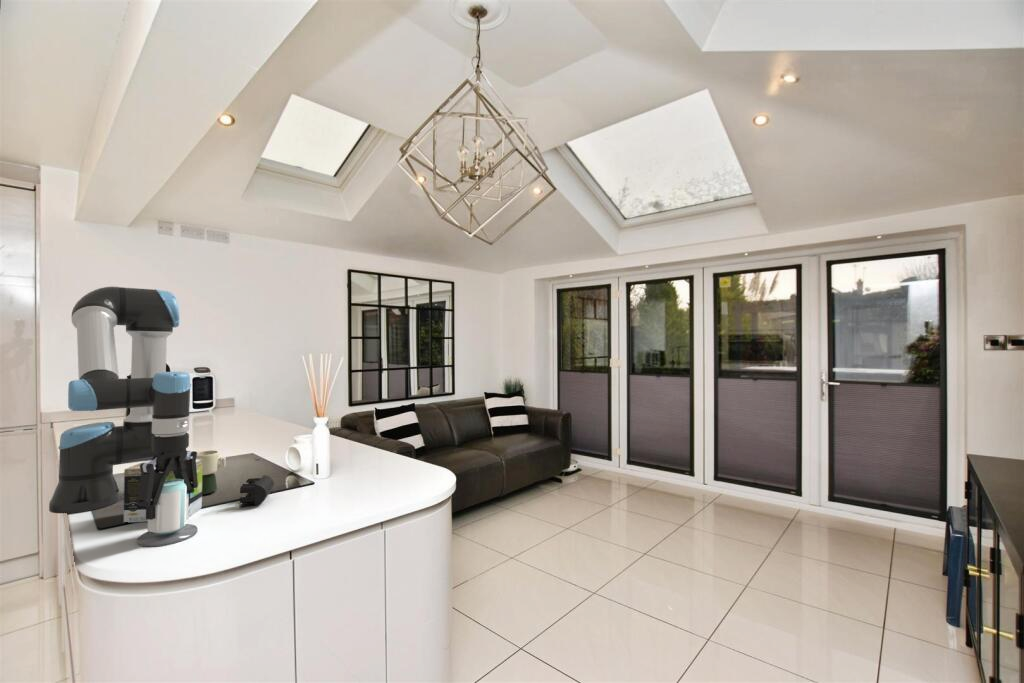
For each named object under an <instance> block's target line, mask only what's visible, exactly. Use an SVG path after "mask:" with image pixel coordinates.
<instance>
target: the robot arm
mask: <svg viewBox="0 0 1024 683" xmlns="http://www.w3.org/2000/svg"><path fill="white" fill-rule="evenodd" d="M71 323H72V326H73V327H74V328H75V329H76V338H77V340H76V341H77V343H76V344H77V367H78V369H77V370H78V379H74V380H70V381H69V383H68V387H67V388H68V389H67V390H68V391H67V392H68V393H67V395H68V396H67V397H68V398H67V405H68V409H69V410H70V411H71V412H72V411H73V412H88V411H89V412H94V411H104V410H105V411H106V410H115V409H116V410H117V409H130V411H129V414H128V415H126V417H125V418H123V422H122V423H123V424H122V425H118V426H116V425H115V423H114V421H113V422H112V421H102V422H101V421H100V422H94V423H87V424H83V425H78V426H74V427H71V428H68V429H65V430H64V431H63V432H62V433H61V434H60V437H59V438H60V439H59V446H58V450H59V460H58V462H59V464H58V482H57V485H56V487H55V489H54V492H53V494H52V497H51V499H50V501H49V503H48V506H49V507H48V510H49V512H50V513H53V514H75V513H82V512H88V511H94V510H97V509H102V508H104V507H108V506H111V505H114V504H115V503H117V502H119V501H120V500H121V498H120V497H121V491H120V489H119V487H118V486H119V485H118V484H117V481H116V479H115V477H114V476H115V475H114V466H117V465H118V466H119V465H125V464H133V463H142V462H144V461H147V460H152V461H150V462H148V463H142V464H141V465H140V470H141V479H140V486H139V493H138V500H137V505H141V506H146V519H148V522H147V532H148V531H149V532H159V531H160V511H161V504H157V503H158V500H159V497H160V494H161V491H162V488H163V485H164V482H165V479H166V477H167V476H168V475H169V473H170V472H171V471H173V473H174V475H175V478H176V479H183V480H184V483H185V484H186V486H187V497H186V520H188V519H189V517H188V505H189V504H190V493H193V492H194V490H195V489H194V488H197V487H198V480H197V469H196V457H197V452H198V451H193V450H187V449H188V447H189V444H190V434H189V433H188V432H189V430H190V407H191V406H190V405H191V404H190V399H191V398H190V397H191V388H192V384H191V375H190V373H189V372H186V371H167V346H168V345H167V343H168V342H167V341H168V340H167V339H168V338H169V336H171V335H172V334H173V333H174V331H173V330H174V329H173V328H178V327H179V326H180V310H179V304H178V300H177V298H176V296H175V294H174V293H173V292H171V291H168V290H167V291H166V290H160V289H156V288H155V289H150V288H149V289H148V288H134V287H120V286H103V287H101V288H100V287H99V288H97V289H94V290H92V291H90V292H88V293H86V294H85V295H83V296H82V297H81V298H80V299H79V300H78V301H77V302H76V303H75V305H74V306H73V307H72V311H71ZM116 326H123V327H124V326H125V333H127V334H128V335H129V336H130V337H131V359H130V360H131V368H130V378H120V376H119V369H118V358H117V350H116V349H117V347H116V339H115V330H114V329H115V327H116ZM160 472H163V473H160ZM191 482H192V483H191Z"/></svg>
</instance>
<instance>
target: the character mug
mask: <svg viewBox="0 0 1024 683" xmlns="http://www.w3.org/2000/svg"><path fill="white" fill-rule="evenodd" d="M196 452H197V457H196V459H202V495H206V494H207V495H208V494H211V493H213V492H215V491H217V489H218V488H217V486H218V485H217V477H216V474H215V473H217V472H218V471H219V469H221V468H222V469H223V468H225V467H226V464H227V463H226V460H227V459H226V457H225V456H223V457H222V456H221V457H220V451H219V450H215V449H214V450H212V449H208V450H201V451H196ZM220 461H222V463H221V464H220Z"/></svg>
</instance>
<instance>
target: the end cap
mask: <svg viewBox="0 0 1024 683" xmlns="http://www.w3.org/2000/svg"><path fill="white" fill-rule="evenodd" d="M274 487H275V483H274V480H273V478H272V477H271V476H269V475H262V476H261V477H255V478H248V479H247V480H246V481H245V483H242V485H240V488H239V494H246V495H245V496H242V497H241V496H240V497H239V504H240V505H239V507H240V508H241V509H244V508H256V507H258V506H260V505H261V504H262V503H263V502H264V501H265V500H266V499H267V498H268V496H269V494H271V491H272V490H273V489H274Z"/></svg>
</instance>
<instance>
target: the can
mask: <svg viewBox="0 0 1024 683" xmlns="http://www.w3.org/2000/svg"><path fill="white" fill-rule="evenodd" d="M186 497H187V486H186V484H185V483H184V480H183V479H167V480H165V482H164V485H163V488H162V491H161V494H160V497H159V500H158V503H157V504H161V511H160V531H159V532H154V533H156V534H168V533H172V532H175V531H178V530H180V529H181V528H182V527H184V526H185V525H186V524H187V519H186Z"/></svg>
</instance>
